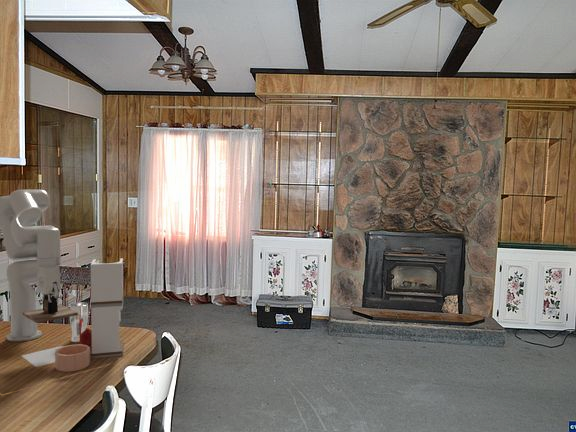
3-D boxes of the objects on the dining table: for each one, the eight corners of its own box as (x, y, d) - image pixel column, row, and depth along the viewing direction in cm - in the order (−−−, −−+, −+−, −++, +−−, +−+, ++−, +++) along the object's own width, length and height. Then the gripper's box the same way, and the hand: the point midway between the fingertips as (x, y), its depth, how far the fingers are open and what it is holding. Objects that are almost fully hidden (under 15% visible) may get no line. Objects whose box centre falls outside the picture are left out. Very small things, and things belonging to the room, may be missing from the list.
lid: (22, 314, 171) (22, 300, 171) (62, 307, 181) (62, 293, 181) (36, 323, 161) (36, 307, 161) (77, 315, 172) (77, 300, 171)
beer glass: (81, 344, 187) (81, 307, 185) (66, 342, 188) (65, 305, 187) (92, 338, 193) (91, 302, 192) (77, 337, 195) (76, 301, 194)
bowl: (50, 366, 164) (50, 349, 163) (81, 358, 172) (81, 342, 171) (63, 375, 157) (63, 358, 156) (95, 366, 164) (94, 349, 164)
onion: (97, 344, 186) (97, 324, 186) (94, 349, 181) (93, 329, 180) (82, 345, 185) (81, 325, 185) (78, 350, 180) (77, 329, 179)
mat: (20, 356, 172) (20, 355, 172) (62, 346, 183) (62, 345, 183) (36, 368, 162) (36, 367, 162) (79, 356, 173) (79, 355, 173)
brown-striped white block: (122, 356, 174) (121, 263, 172) (92, 359, 171) (90, 264, 168) (123, 346, 185) (122, 258, 183) (94, 348, 182) (93, 259, 179)
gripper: (29, 260, 173) (30, 309, 174) (47, 266, 161) (48, 318, 163) (51, 257, 178) (52, 305, 180) (69, 263, 167) (70, 314, 168)
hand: (50, 310), depth 171 cm, fingers closed on lid, 4 cm apart
